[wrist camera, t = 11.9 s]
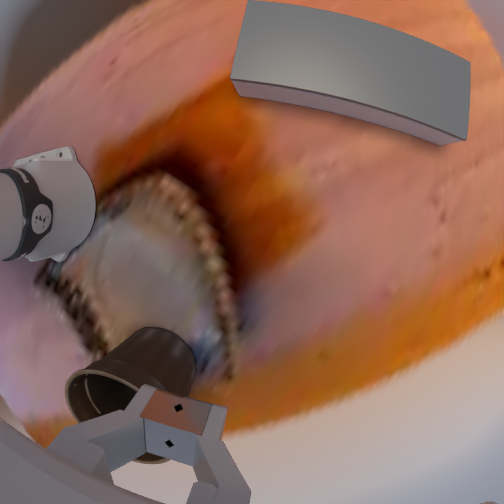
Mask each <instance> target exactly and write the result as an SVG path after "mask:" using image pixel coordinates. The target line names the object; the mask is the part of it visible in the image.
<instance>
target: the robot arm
mask: <svg viewBox="0 0 504 504" xmlns="http://www.w3.org/2000/svg"><path fill="white" fill-rule="evenodd" d="M62 154H63V155H62ZM95 208H96V203H95V193H94V189H93V185H92V182H91V180H90V178H89V176H88V174H87V173H86V171H85V170H84V169H83V168H82V167H81V166H80V164H79V163H78V161H77V158H76V154H75V151H74V149H73V148H72V147H70V146H69V147H62V148H58V149H54V150H50V151H46V152H43V153H39V154H35V155H32V156H28V157H25V158H22V159H19V160H17V161H16V162H15V164H14V166H13V167H12V168H4V169H0V261H1V260H2V261H10V260H17V259H20V258H22V257H23V256H24V257H25V258H27V259H29V261H31V262H34V261H38V260H42V259H46V258H52V259H53V260H55V261H57V262H62V261H64V260H65V259H66V258H67V256H68V254H69V253H70V251H71V250H72V249H73V248H75V247H77V246H78V245H80V244H81V243H82V242H83V241H84V240H85V239H86V237H87V236H88V234H89V232H90V230H91V228H92V225H93V222H94V217H95ZM227 410H228V407H225V406H221V405H216V404H211V403H207V402H203V401H199V400H195V399H191V398H188V397H184V396H180V395H177V394H174V393H171V392H168V391H165V390H162V389H159V388H155V387H152V386H150V385H147V384H144V385H142V386H141V388H140V389H139V390H138V392H137V393H136V395H135V396H134V398H133V399H132V400H131V402H130V403H129V405H128V406H127V407H126V409H125V410H124V411H123V410H118V411H115V412H112V413H109V414H106V415H103V416H100V417H97V418H94V419H91V420H88V421H84V422H81V423H78V424H75V425H71V426H68V427H65V428H64V429H63V430H62V431H61V432H60V433H59V435H58V436H57V437H56V438H55V439H54V440H53V442H52V443H51V444H50V445H49V446H48V447H47V449H45V448H43V447H42V446H40V445H39V444H37V443H35V442H34V441H32V440H31V439H29V438H28V437H26V436H25V435H24V434H22V433H21V432H19V431H18V430H17V429H15V428H14V427H12V426H11V425H10V424H8V423H7V422H6V421H4V420H3V419H2V418H0V504H164V503H161V502H158V501H155V500H152V499H149V498H147V497H144V496H141V495H138V494H136V493H133V492H130V491H128V490H126V489H123V488H121V487H118V486H116V485H114V483H113V480H112V476H111V473H110V472H112V471H114V470H116V469H117V468H119V467H121V466H123V465H125V464H126V463H128V462H130V461H132V460H134V459H136V458H137V457H139V456H141V455H143V454H144V453H146V452H149V453H152V454H155V455H158V456H162V457H165V458H168V459H172V460H174V461H177V462H181V463H184V464H187V465H190V466H193V469H194V471H195V474H196V477H197V480H198V482H195V483H193V486H192V489H191V492H190V495H189V497H188V500H187V503H186V504H249V503H250V497H251V490H250V488H249V486H248V485H247V483H246V481H245V480H244V478H243V476H242V475H241V473H240V471H239V470H238V468H237V466H236V464H235V462H234V460H233V459H232V457H231V455H230V453H229V451H228V449H227V447H226V446H225V444H224V442H223V441H221V439H222V435H223V430H224V425H225V420H226V415H227ZM145 451H146V452H145ZM481 504H497V503H495V502H492V501H490V502H485V503H481Z"/></svg>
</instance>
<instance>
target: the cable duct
mask: <svg viewBox="0 0 504 504" xmlns="http://www.w3.org/2000/svg"><path fill="white" fill-rule="evenodd" d="M232 82H233V84H234V86H235V88H236V90H237V92H238V94H239V95H240V96H244V97H251V98H259V99H265V100H272V101H278V102H284V103H290V104H295V105H300V106H305V107H310V108H315V109H320V110H324V111H329V112H333V113H337V114H341V115H345V116H349V117H353V118H357V119H361V120H364V121H368V122H371V123H375V124H378V125H382V126H385V127H388V128H391V129H395V130H398V131H401V132H404V133H407V134H410V135H413V136H415V137H418V138H421V139H424V140H427V141H429V142H432V143H435V144H437V145H440V146H441V145H445V144H450V143H455V142H459V141H462V140H461V139H458V138H456V137H454V136H451V135H449V134H447V133H444V132H442V131H439V130H437V129H434V128H432V127H429V126H426V125H424V124H421V123H418V122H415V121H413V120H410V119H407V118H404V117H401V116H398V115H395V114H392V113H389V112H386V111H382V110H379V109H376V108H372V107H369V106H365V105H362V104H358V103H354V102H350V101H347V100H343V99H338V98H334V97H330V96H326V95H321V94H316V93H312V92H307V91H301V90H296V89H291V88H285V87H279V86H272V85H266V84H258V83H251V82H242V81H233V80H232Z"/></svg>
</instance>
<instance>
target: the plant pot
mask: <svg viewBox="0 0 504 504" xmlns="http://www.w3.org/2000/svg"><path fill="white" fill-rule="evenodd" d="M195 375H196V365H195V358H194V355H193V353H192V351H191V350H190V348H189V347H188V346H187V345H186V344H185V343H184V341H182V340H181V339H180V338H179V337H177V336H176V335H174V334H173V333H171V332H169V331H167V330H164V329H161V328H156V329H155V328H148V327H147V328H142V329H140V330H138V331H136V332H135V333H134V334H132V335H131V336H130V337H129V338H128V339H126V340H125V341H124V342H123V343H121V344H120V345H119V346H118V347H116V348H115V349H114V350H112V351H111V352H110V353H108V354H107V355H106V356H105V357H103V358H102V359H101V360H98V361H96V362H94V363H92V364H91V365H89V366H88V367H86V368H85V369H81V370H78V371H76V372H75V373H73V374H72V375H71V376H70V377H69V378H68V380H67V382H66V385H65V398H66V401H67V405H68V407H69V409H70V411H71V413H72V415H73V417H74V418H75V420H76V421H77V423H81V422H84V421H88V420H91V419H94V418H97V417H100V416H103V415H106V414H109V413H112V412H115V411H118V410H123V411H124V410H125V409H126V407H127V406H128V405H129V403H130V402H131V400H132V399H133V398H134V396H135V395H136V393H137V392H138V390H139V389H140V388H141V386H142V385H144V384H147V385H150V386H152V387H155V388H159V389H162V390H165V391H168V392H171V393H174V394H177V395H180V396H184V397H188V396H189V393H190V389H191V386H192V383H193V380H194V378H195ZM145 452H146V451H145ZM169 460H171V459H168V458H165V457H162V456H158V455H155V454H152V453H149V452H146V453H144V454H143V455H141V456H139V457H137V458H136V459H134V460H132V461H134V462H139V463H144V464H160V463H164V462H167V461H169Z"/></svg>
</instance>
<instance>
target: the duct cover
mask: <svg viewBox="0 0 504 504" xmlns="http://www.w3.org/2000/svg"><path fill="white" fill-rule="evenodd" d="M230 79H231V80H233V81H242V82H251V83H258V84H266V85H272V86H279V87H285V88H291V89H296V90H301V91H307V92H312V93H316V94H321V95H326V96H330V97H334V98H338V99H343V100H347V101H350V102H354V103H358V104H362V105H365V106H369V107H372V108H376V109H379V110H382V111H386V112H389V113H392V114H395V115H398V116H401V117H404V118H407V119H410V120H413V121H415V122H418V123H421V124H424V125H426V126H429V127H432V128H434V129H437V130H439V131H442V132H444V133H447V134H449V135H451V136H454V137H456V138H458V139H461V140H463V141H465V140H467V132H468V121H469V106H470V62H469V61H467V60H465V59H463V58H461V57H459V56H457V55H455V54H453V53H451V52H449V51H447V50H445V49H443V48H441V47H438V46H436V45H434V44H431V43H429V42H427V41H424V40H422V39H419V38H417V37H414V36H412V35H409V34H406V33H404V32H401V31H398V30H395V29H392V28H389V27H386V26H383V25H380V24H377V23H374V22H370V21H367V20H363V19H360V18H356V17H352V16H348V15H344V14H340V13H335V12H331V11H326V10H321V9H316V8H310V7H304V6H298V5H291V4H284V3H276V2H266V1H254V0H248V3H247V7H246V11H245V15H244V19H243V23H242V27H241V31H240V36H239V40H238V44H237V49H236V53H235V58H234V62H233V67H232V71H231V76H230Z"/></svg>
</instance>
